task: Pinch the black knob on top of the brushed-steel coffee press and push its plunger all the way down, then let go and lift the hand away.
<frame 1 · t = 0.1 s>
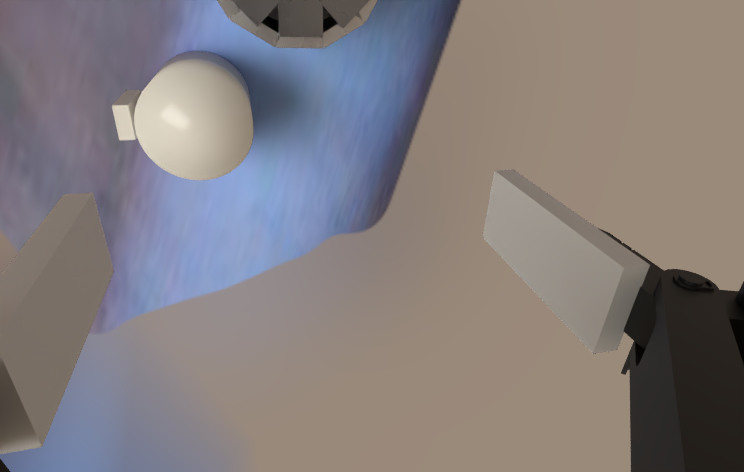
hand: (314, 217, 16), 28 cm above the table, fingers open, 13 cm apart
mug: (203, 98, 39), on the table
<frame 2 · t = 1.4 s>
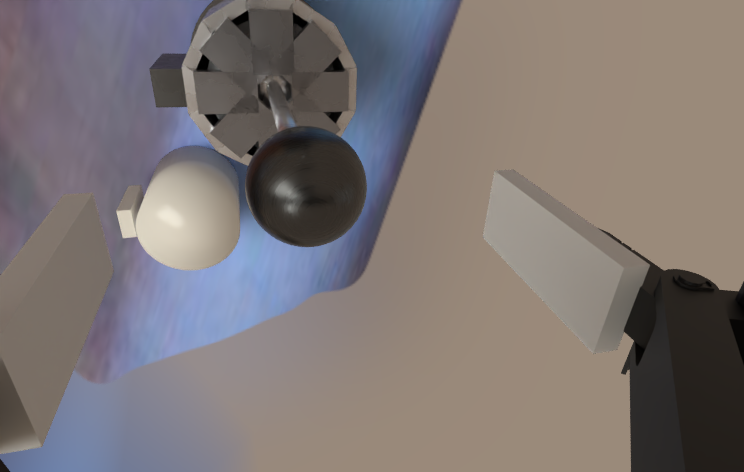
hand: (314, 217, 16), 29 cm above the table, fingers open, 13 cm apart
press: (265, 62, 40), on the table
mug: (197, 184, 44), on the table
plunger: (286, 126, 24), point 20 cm above the table, slide at 0.0 cm
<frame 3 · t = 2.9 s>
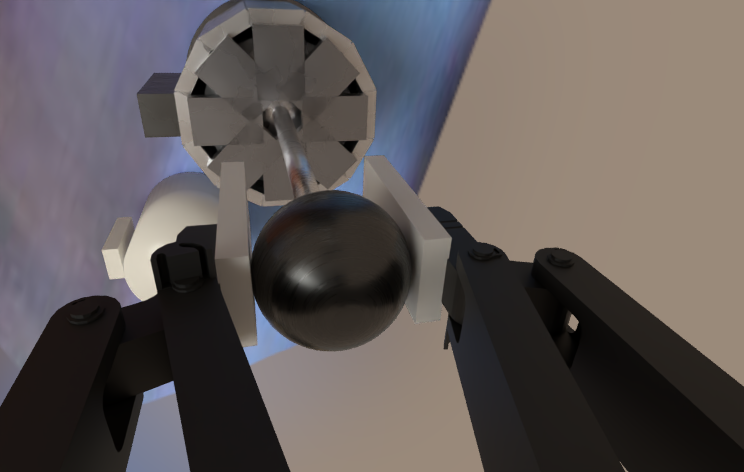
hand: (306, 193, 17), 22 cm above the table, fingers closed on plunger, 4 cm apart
press: (269, 80, 36), on the table
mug: (194, 213, 40), on the table
plunger: (299, 169, 20), point 20 cm above the table, slide at 0.0 cm, touching gripper
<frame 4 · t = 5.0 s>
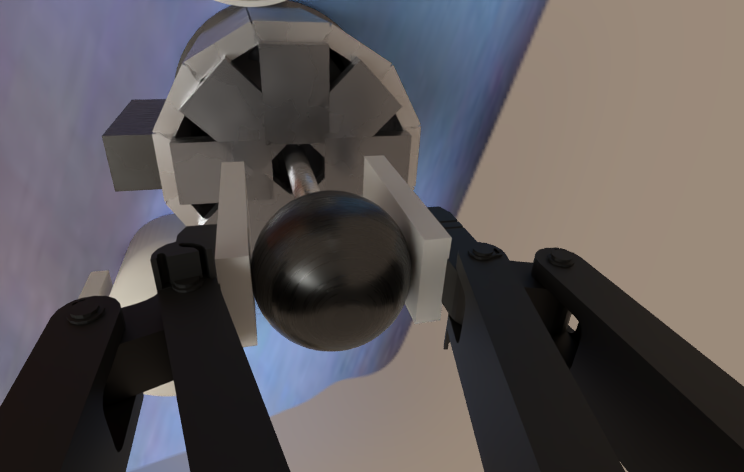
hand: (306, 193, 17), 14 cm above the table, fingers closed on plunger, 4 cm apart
press: (277, 103, 30), on the table
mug: (186, 261, 33), on the table
plunger: (299, 169, 20), point 12 cm above the table, slide at 7.8 cm, touching gripper
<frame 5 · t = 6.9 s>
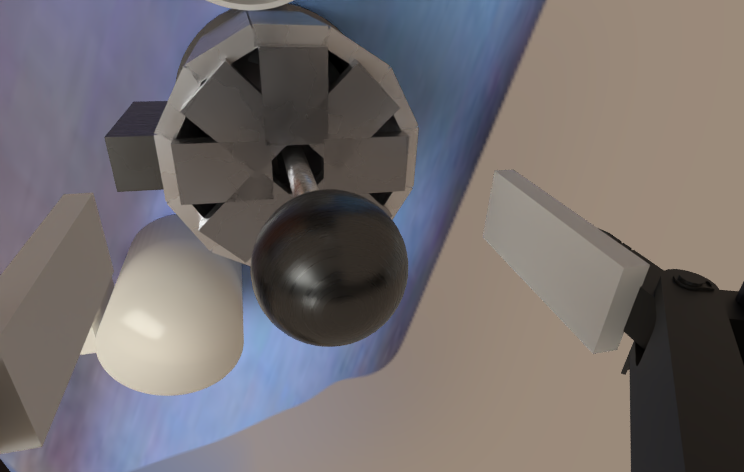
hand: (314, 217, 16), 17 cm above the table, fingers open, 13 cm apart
press: (277, 105, 30), on the table
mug: (186, 261, 33), on the table
plunger: (298, 170, 20), point 12 cm above the table, slide at 7.8 cm
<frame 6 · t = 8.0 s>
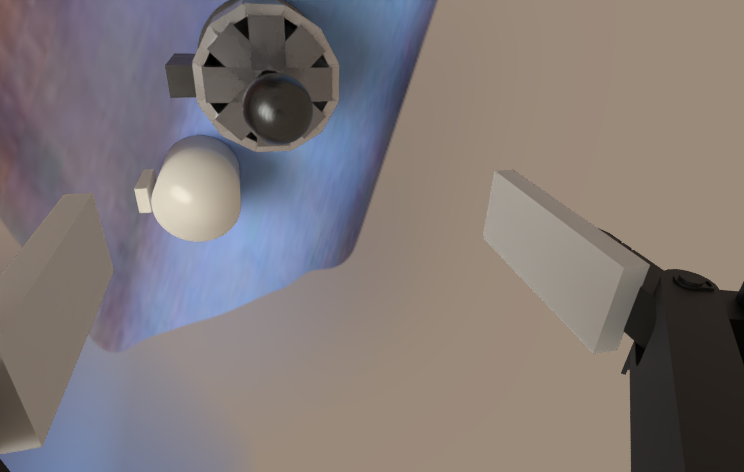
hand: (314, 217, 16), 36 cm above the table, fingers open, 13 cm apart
press: (262, 61, 46), on the table
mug: (202, 170, 50), on the table
plunger: (270, 85, 36), point 12 cm above the table, slide at 7.8 cm
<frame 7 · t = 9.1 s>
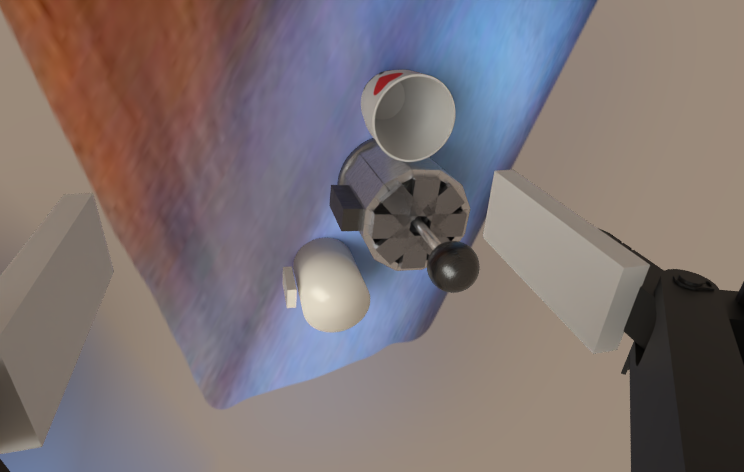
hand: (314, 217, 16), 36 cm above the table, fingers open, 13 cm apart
cup: (383, 97, 52), on the table
press: (386, 183, 56), on the table
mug: (323, 263, 59), on the table
plunger: (420, 226, 46), point 12 cm above the table, slide at 7.8 cm
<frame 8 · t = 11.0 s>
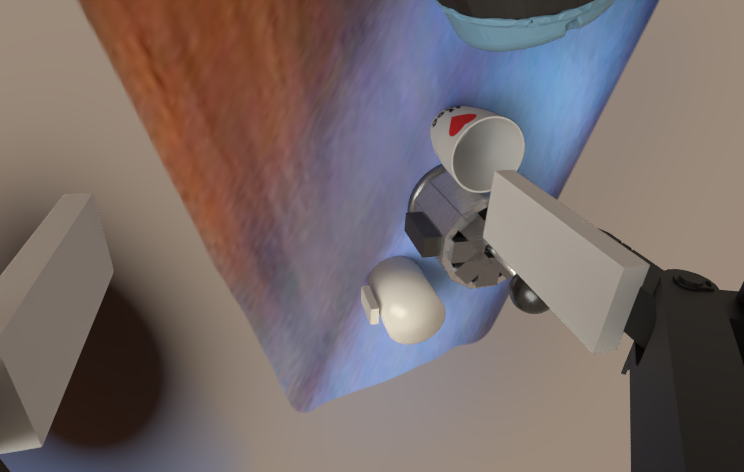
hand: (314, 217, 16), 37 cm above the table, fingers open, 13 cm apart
cup: (449, 128, 56), on the table
press: (451, 204, 61), on the table
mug: (394, 279, 64), on the table
plunger: (494, 249, 51), point 12 cm above the table, slide at 7.8 cm
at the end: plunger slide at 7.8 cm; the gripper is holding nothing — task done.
